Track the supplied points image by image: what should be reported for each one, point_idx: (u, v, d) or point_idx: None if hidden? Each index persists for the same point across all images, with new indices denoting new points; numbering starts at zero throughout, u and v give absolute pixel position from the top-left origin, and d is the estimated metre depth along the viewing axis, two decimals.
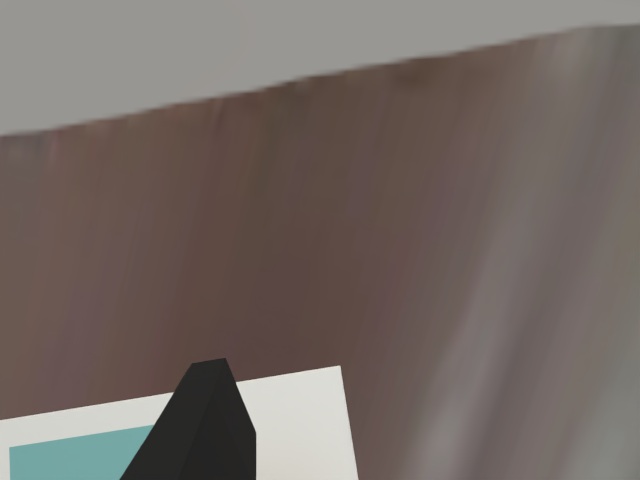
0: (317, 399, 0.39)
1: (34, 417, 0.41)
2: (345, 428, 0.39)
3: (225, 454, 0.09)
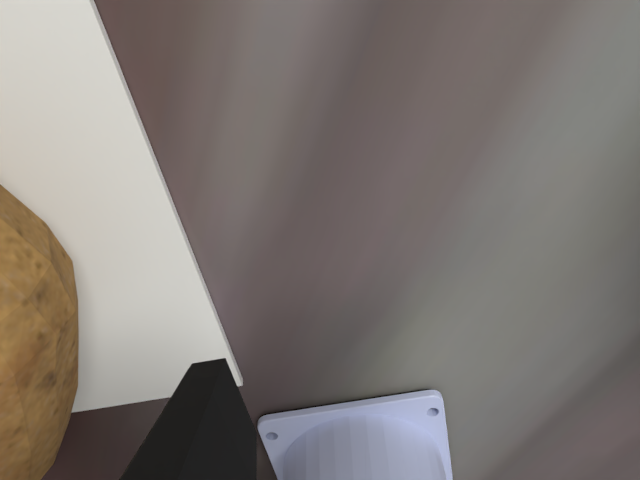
0: None
1: None
2: None
3: (225, 454, 0.09)
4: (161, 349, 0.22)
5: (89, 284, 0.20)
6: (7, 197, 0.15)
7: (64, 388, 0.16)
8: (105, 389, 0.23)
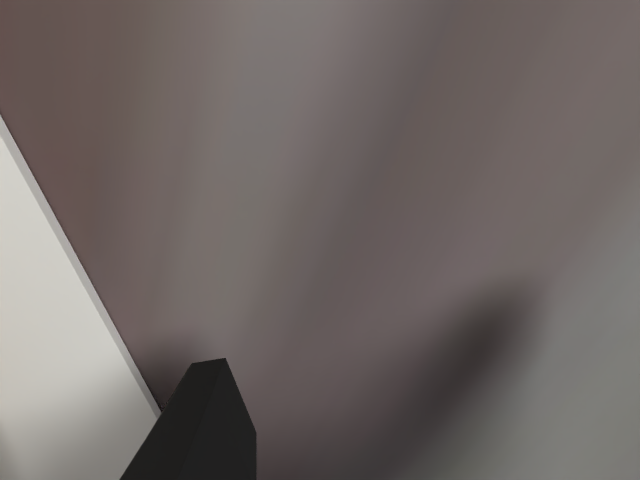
0: None
1: None
2: None
3: (225, 454, 0.09)
4: None
5: (7, 433, 0.14)
6: None
7: None
8: None
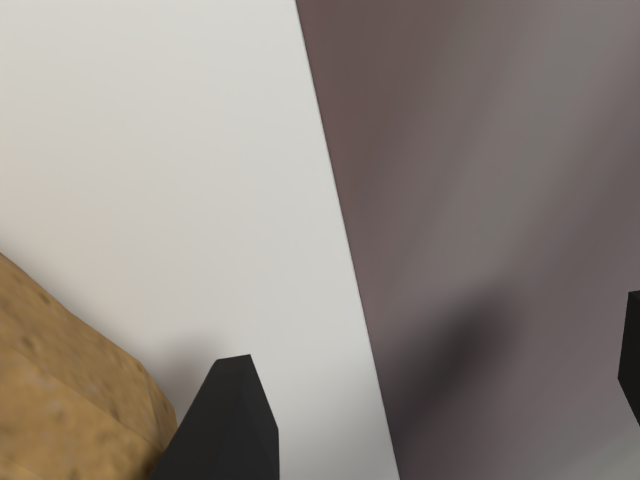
0: None
1: None
2: None
3: (252, 450, 0.09)
4: (306, 477, 0.16)
5: None
6: (86, 339, 0.09)
7: None
8: None
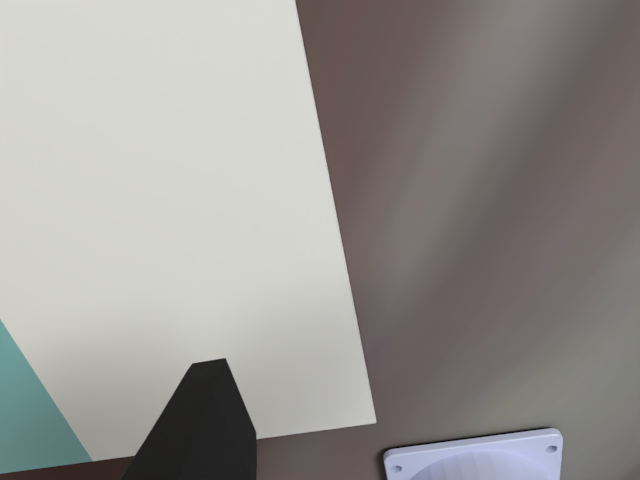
0: None
1: None
2: None
3: (225, 454, 0.09)
4: (308, 390, 0.23)
5: (254, 331, 0.21)
6: None
7: None
8: None
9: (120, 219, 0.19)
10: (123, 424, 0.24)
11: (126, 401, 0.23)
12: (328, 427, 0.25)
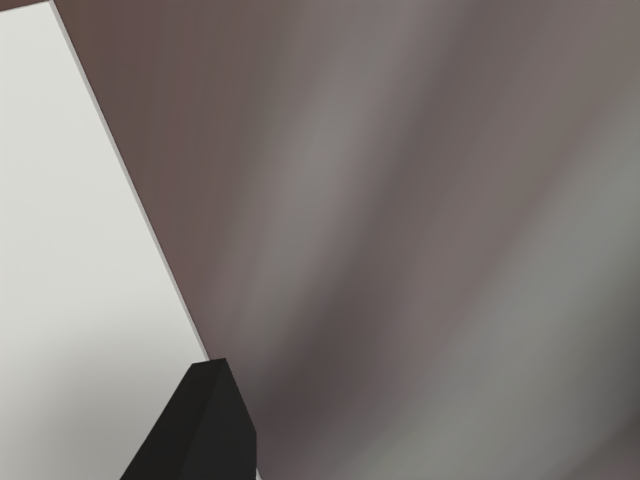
0: (19, 91, 0.16)
1: None
2: (103, 148, 0.17)
3: (225, 453, 0.09)
4: None
5: (133, 413, 0.24)
6: None
7: None
8: None
9: None
10: None
11: (29, 471, 0.26)
12: None
